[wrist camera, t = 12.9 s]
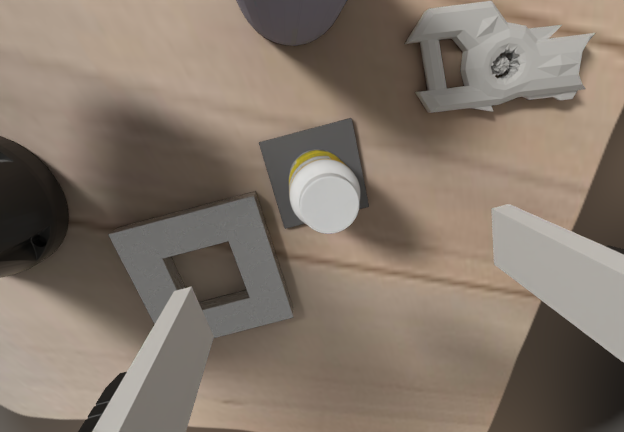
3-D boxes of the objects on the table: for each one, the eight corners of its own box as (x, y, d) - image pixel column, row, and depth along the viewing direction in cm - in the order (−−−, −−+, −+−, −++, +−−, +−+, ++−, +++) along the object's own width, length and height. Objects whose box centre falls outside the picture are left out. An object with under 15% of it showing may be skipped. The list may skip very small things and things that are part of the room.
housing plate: (173, 338, 41) (167, 350, 39) (117, 227, 36) (108, 234, 34) (293, 307, 41) (293, 317, 39) (255, 191, 35) (253, 196, 34)
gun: (615, -18, 28) (593, 101, 32) (583, -6, 31) (566, 100, 35) (411, 8, 29) (411, 122, 32) (400, 16, 32) (402, 120, 35)
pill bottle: (350, 194, 36) (377, 231, 25) (298, 210, 36) (303, 252, 26) (337, 140, 34) (360, 156, 23) (281, 157, 34) (279, 180, 23)
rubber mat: (284, 226, 37) (284, 228, 37) (259, 142, 34) (258, 143, 33) (367, 205, 37) (369, 206, 36) (350, 118, 34) (351, 118, 33)
